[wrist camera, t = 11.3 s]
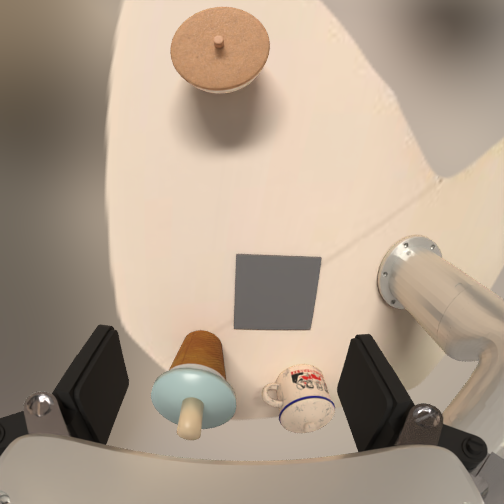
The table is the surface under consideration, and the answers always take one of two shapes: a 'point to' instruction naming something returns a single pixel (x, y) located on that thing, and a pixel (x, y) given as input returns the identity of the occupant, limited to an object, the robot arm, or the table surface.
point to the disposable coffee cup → (201, 353)
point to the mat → (275, 291)
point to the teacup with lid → (301, 399)
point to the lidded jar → (220, 49)
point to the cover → (193, 400)
